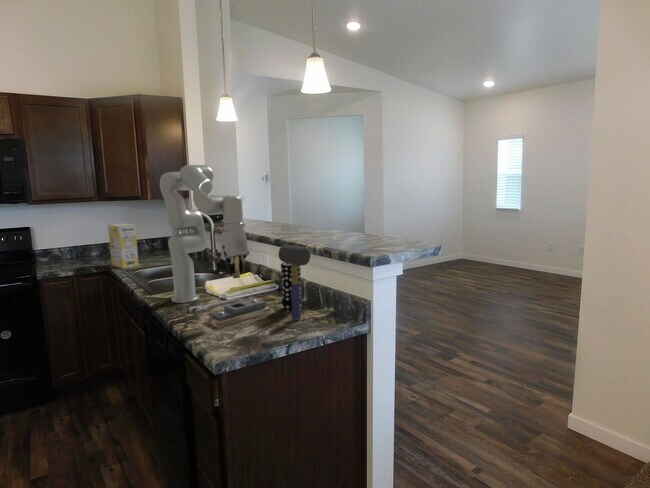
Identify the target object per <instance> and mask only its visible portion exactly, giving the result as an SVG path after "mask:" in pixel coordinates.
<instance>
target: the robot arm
mask: <svg viewBox="0 0 650 488" xmlns="http://www.w3.org/2000/svg"><path fill="white" fill-rule="evenodd" d="M213 180H214V172H213V169H212V168H211V167H210V166H208V165H206V164H205V165H204V164H188V165H183V167H181V168H180V170H179V171H169V172H165V173H163V174H162V175H161V176H160V179H159V188H160V189H159V190H160V192H161V195H162V197H163V201H164V204H165V208H166V216H167V221H168V226H169V228H170V230H172V231H175V232H176V231H177V232H181V231H191V232H184V233H177V234H174V235H171V236H170V237H169V238H168V241H167V242H168V244H167V245H168V249H169V254H170V258H171V267H172V268H171V269H172V278H173V281H172V282H173V294H174V296H172V297H171V300H170V301H171V302H172V303H177V304H185V303H192V302H195V301H197V300H199V299H200V295H199V294H196V282H195V280H196V279H195V268H194V266H195V265H194V261H193V259H192V258H191V257H190V255H189V254H190V253H191V254H192V253H196V252H202V251H204V250H205V249H206V247H207V235H206V228H205V223H204V217H203V215H202V213H203V214H204V215H206V216H213V215H214V216H215V215H223V231H222V232H221V238H220V259H221V260H223V261H225V262H226V263H227V264H228V272H229V274H232V275H233V274H235V264H233V258H234V256H238V255H239V261H240V273H244V262H245V259H246V258H247V257H248V256H249V255H250V251H249V250H248V249H249V247H248V239H247V234H246V231H245V229H244V228H245V227H246V223H244V219H243V218H244V217H243V214H244V213H243V199H242V197H241V196H238V195H234V196H233V195H225V194H224V195H209V194H210V193H211V192H212V190H213V183H212V182H213ZM178 191H180V192H181V191H192V201H193V203H194V205H195V207H196V208H197V209H198V210H197V209H187V208H186V203H185V202H186V201H185V199H184V197H183V196H182V195H181V193H179V192H178Z"/></svg>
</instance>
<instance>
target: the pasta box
mask: <svg viewBox="0 0 650 488" xmlns="http://www.w3.org/2000/svg"><path fill="white" fill-rule="evenodd" d="M107 227H108V239H109V250H110V258H111V261H110V262H111V266H113V267H116V268H119V269H128V268H135V267H139V266H140V265H139V254H138V240H137V232H136V231H137V230H136V224H133V223H130V224H129V223H114V224H107Z"/></svg>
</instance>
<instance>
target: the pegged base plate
mask: <svg viewBox="0 0 650 488" xmlns="http://www.w3.org/2000/svg"><path fill="white" fill-rule="evenodd" d="M223 306H224V307H223V308H224V309H221V310H216V311H211V312H209V314H208V316H209V317H211V318H213V319H216V320H218V321H223V320H227V319H230V318H234V317H237V316H241V315H244V314H248V313H252V312H255V311H259V310H262V309H266V307H267V304H266V301H265V300H262V299H259V298H255V297H254V298H250V299H246V300H242V301H241V300H240V301H236V302H232V303H228V304H225V305H223Z"/></svg>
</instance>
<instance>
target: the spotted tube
mask: <svg viewBox="0 0 650 488" xmlns="http://www.w3.org/2000/svg"><path fill="white" fill-rule="evenodd" d="M301 273H302V272H301V265H298V284H299V287H300V311H302V309H303V307H302V306H303V305H302V276H301V275H302V274H301ZM280 276H281V278H280V279H281V280H280V281H281V283H280V284H281V306H282V309H281V310H282V311H283V312H287V313H288V312H289V313H292V300H291V285H292V264H289V263H285V262H282V263H280Z"/></svg>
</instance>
